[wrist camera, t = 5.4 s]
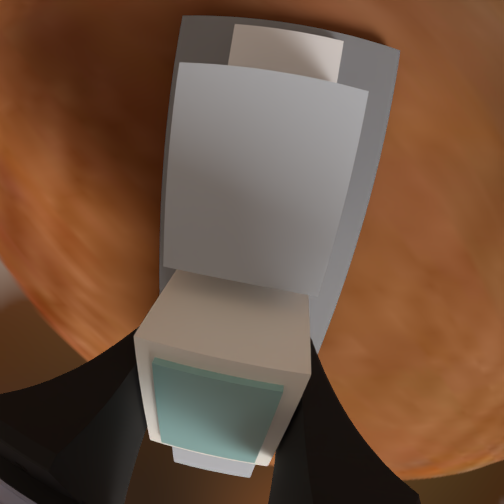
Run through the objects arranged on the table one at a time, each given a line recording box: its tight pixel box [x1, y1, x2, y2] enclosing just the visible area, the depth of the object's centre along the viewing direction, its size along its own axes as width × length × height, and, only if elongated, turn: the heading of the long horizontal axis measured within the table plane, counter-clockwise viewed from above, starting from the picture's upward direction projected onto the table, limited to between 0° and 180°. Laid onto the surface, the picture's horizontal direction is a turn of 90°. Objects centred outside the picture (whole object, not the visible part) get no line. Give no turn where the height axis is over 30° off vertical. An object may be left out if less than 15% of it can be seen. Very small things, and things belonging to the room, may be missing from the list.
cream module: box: [134, 269, 311, 466], centre depth 10 cm, size 4×5×5 cm
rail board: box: [159, 16, 400, 478], centre depth 12 cm, size 8×20×6 cm, turn 172°
